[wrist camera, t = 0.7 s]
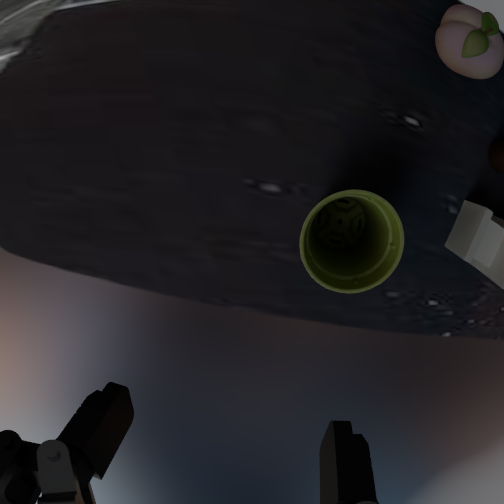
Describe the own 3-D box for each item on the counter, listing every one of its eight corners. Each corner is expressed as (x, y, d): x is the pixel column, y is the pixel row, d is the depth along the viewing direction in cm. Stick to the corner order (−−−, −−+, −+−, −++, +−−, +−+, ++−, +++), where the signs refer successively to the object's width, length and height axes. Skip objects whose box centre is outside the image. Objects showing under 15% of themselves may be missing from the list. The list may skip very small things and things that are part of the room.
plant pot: (369, 266, 35) (390, 298, 27) (292, 255, 36) (292, 287, 27) (385, 187, 32) (413, 200, 24) (303, 174, 33) (307, 181, 24)
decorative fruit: (465, 100, 27) (512, 90, 18) (412, 58, 27) (450, 33, 17) (484, 50, 24) (528, 32, 14) (436, 10, 23) (471, -20, 14)
